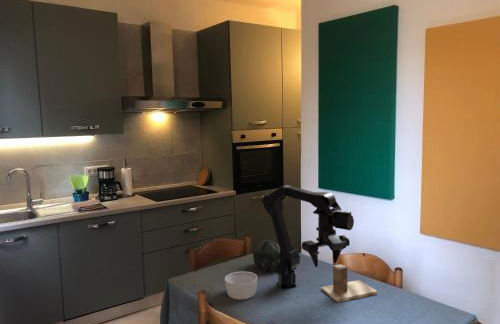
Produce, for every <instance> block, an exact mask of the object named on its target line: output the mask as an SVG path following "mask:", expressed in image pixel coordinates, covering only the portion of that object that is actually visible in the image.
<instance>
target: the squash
mask: <svg viewBox="0 0 500 324" xmlns="http://www.w3.org/2000/svg"><path fill="white" fill-rule="evenodd" d="M252 254H253V256H252V258H253V259H252V261H253V263H254V264H255V266H256V267H258V268H259V269H262V270H263V271H265V272H266V271H268V270H269V271H270V272H272V271H275V267H277V266H278V265H279V264H280V260H279V254H280V247H279V243H278V242H277V243H276V242H275V241H274V240H271V239H266V240H263V241H261V242H260V243H258V244H257V245H256V246H255V247H254V249H253V252H252Z"/></svg>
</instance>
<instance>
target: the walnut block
mask: <svg viewBox="0 0 500 324" xmlns="http://www.w3.org/2000/svg"><path fill="white" fill-rule="evenodd" d="M347 282H348V267H347V266H345V265H344V264H342V263H341V264H335V265H333V266H332V285H333V290H334V291H336V292H337V293H338V294H340V293H345V292H347Z"/></svg>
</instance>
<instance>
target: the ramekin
mask: <svg viewBox="0 0 500 324" xmlns="http://www.w3.org/2000/svg"><path fill="white" fill-rule="evenodd" d="M224 284H225V288H226V293H227V296H229V298H231V299H233V300H241V301H243V300H247V299H250V298H253V297H254V296H255V295H256V292H257V288H258V287H257V284H258V275H257V274H256V273H254V272H251V271H235V272H232V273H228V275H227V274H226V276H224Z"/></svg>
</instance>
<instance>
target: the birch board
mask: <svg viewBox="0 0 500 324" xmlns="http://www.w3.org/2000/svg"><path fill="white" fill-rule="evenodd" d="M321 291H322V292H323V293H324V294H326V295H327V296H329V297H330V298H331V299H333V300H334V301H335V302H337V303H341V302H347V301H351V300H356V299H360V298H365V297H369V296H374V295H378V290H376V289H375V288H373V287H371V286H369V285H368V284H366V283H365V282H363V281H361V280H360V279H357V280H352V281H347V292H345V293H340V294H338V293H337V292H336V291H334V290H333V284H331V285H326V286H322V287H321Z"/></svg>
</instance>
